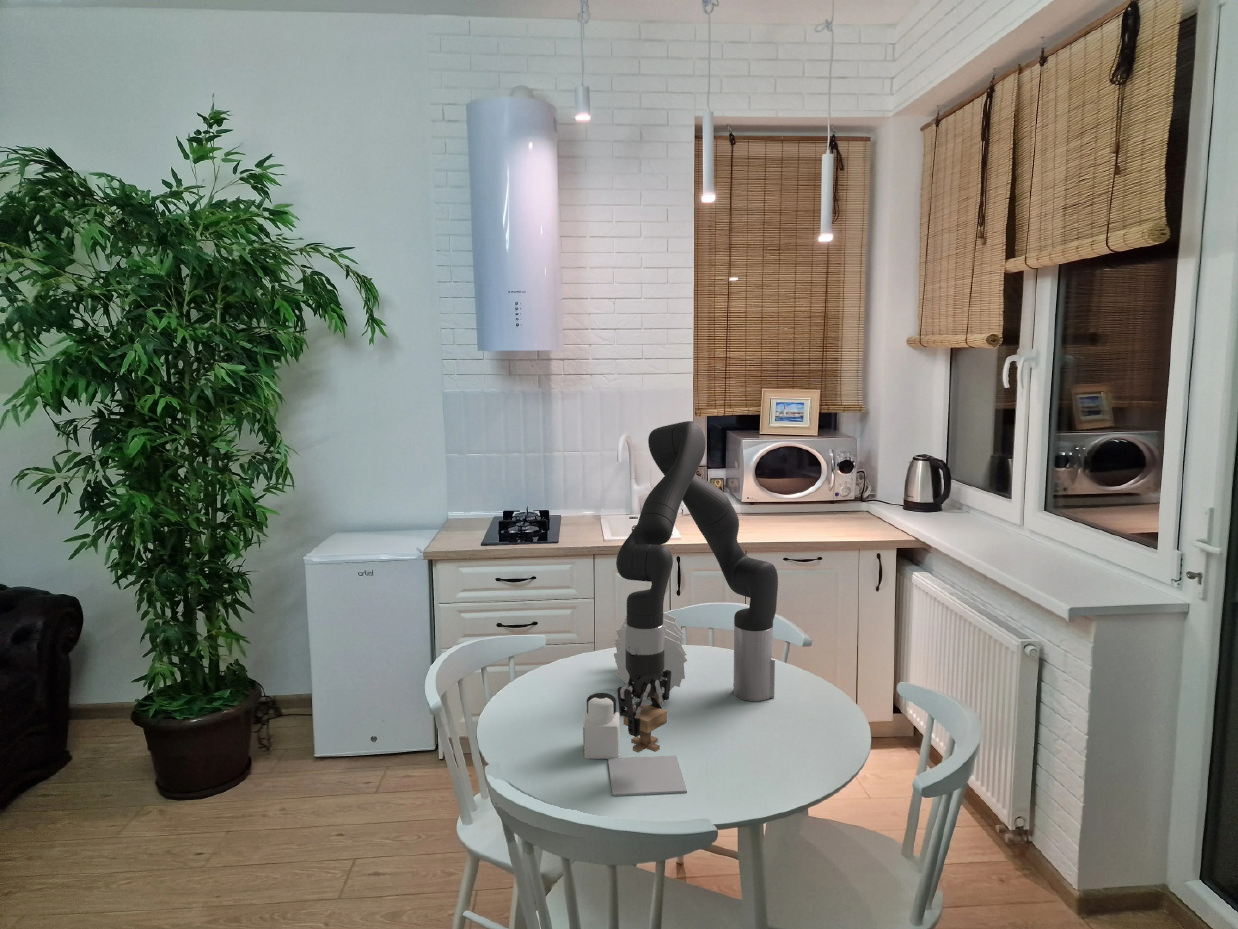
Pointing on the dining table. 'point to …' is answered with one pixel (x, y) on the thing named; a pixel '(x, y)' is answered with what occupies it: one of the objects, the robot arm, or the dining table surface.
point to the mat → (646, 775)
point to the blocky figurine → (601, 727)
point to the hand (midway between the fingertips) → (645, 729)
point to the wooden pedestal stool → (648, 727)
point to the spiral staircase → (672, 651)
